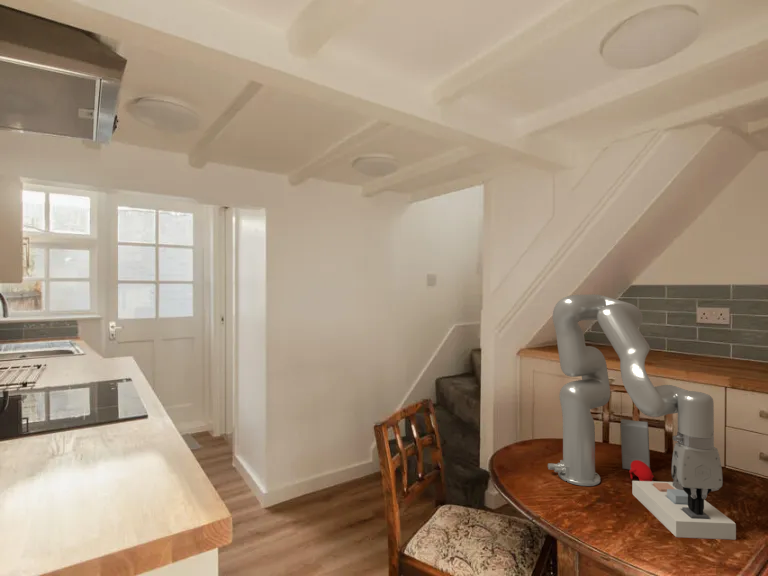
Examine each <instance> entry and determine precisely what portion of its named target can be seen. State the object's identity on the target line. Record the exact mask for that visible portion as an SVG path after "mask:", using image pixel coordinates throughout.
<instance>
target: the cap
mask: <svg viewBox="0 0 768 576" xmlns="http://www.w3.org/2000/svg"><path fill="white" fill-rule="evenodd" d="M628 472H629V475H630V479H631V480H633V478H634V477H633V476H634V475H635V476H636V477H638V481H653V478H655V476H654V474H653V472H652V470H651V467H650V468H649V467H648V466H647V465H646V464H645V463H644V462H642V461H639V460H634V461H632V463H631V469H630V470H629V471H628ZM633 474H634V475H633Z"/></svg>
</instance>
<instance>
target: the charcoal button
mask: <svg viewBox="0 0 768 576" xmlns="http://www.w3.org/2000/svg"><path fill="white" fill-rule="evenodd" d="M682 511H683V512H685V513H686V514H687V515H688V516H689V517H690V518H693V519H709V516H708V515H707V514H706V513H704V512H703V515H700V514H695V513H694V512H692V511H691V510H690V509H689V507H682Z"/></svg>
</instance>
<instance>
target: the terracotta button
mask: <svg viewBox="0 0 768 576" xmlns="http://www.w3.org/2000/svg"><path fill="white" fill-rule="evenodd" d="M653 486H654V487H656V488H657V489H658V490H659V491H660V492H667V489H674V488H673V487H672V486H671V485H669V484H668V483H653Z"/></svg>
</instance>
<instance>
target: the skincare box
mask: <svg viewBox="0 0 768 576" xmlns="http://www.w3.org/2000/svg"><path fill="white" fill-rule="evenodd" d="M619 426H620V440H621V441H620V442H621V445H620V446H621V462H622V464H621V465H622V469H623V470H629V471H630V469H631V463H632V461H634V460H639V461H642V462H644V463H645V464H646V465H647V466H648V467H649V468H650V469H651V465H650V464H651V463H650V460H651V459H650V458H651V457H650V436H649V423H648V421H643V420H641V421H640V420H633V419H632V420H631V419H625V418H624V419H623V418H622V419H621V421H620V425H619Z"/></svg>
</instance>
